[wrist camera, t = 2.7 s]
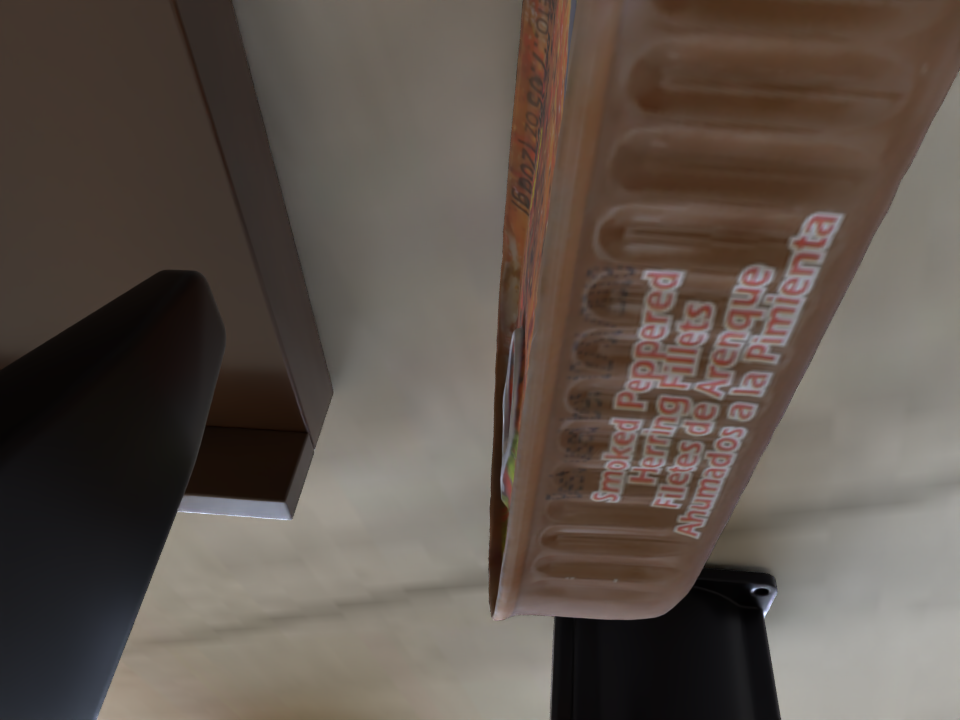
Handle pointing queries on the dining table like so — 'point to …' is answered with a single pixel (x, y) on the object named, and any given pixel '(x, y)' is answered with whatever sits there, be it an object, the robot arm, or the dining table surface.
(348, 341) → the dining table surface
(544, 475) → the tin
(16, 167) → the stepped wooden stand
